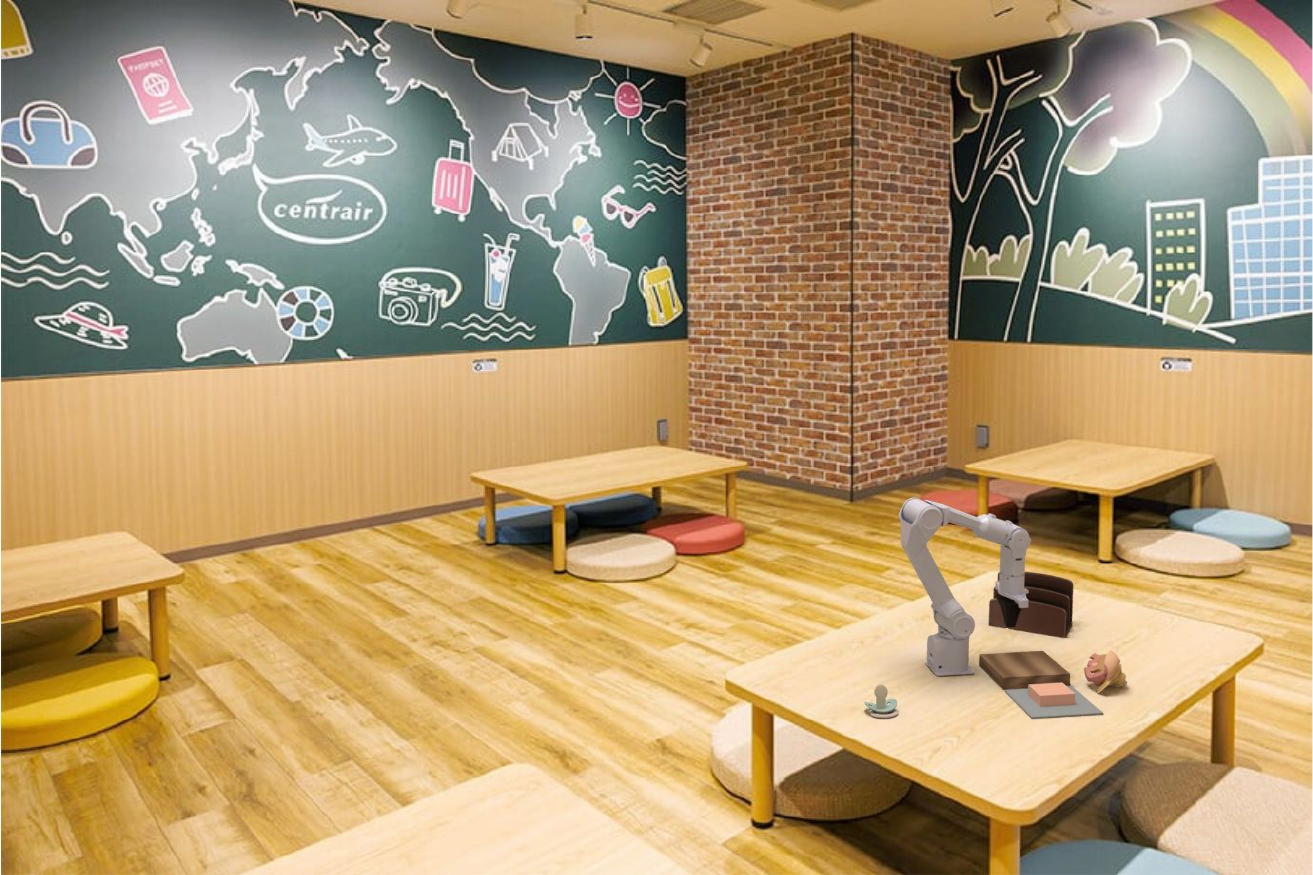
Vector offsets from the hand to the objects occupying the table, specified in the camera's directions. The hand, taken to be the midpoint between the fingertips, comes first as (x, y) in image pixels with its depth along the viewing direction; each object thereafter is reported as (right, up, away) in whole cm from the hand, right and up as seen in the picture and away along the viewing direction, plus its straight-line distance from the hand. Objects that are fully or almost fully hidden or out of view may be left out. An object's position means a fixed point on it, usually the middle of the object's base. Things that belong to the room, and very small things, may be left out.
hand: (1010, 626), depth 239 cm
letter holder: (+15, -5, +25) cm, 29 cm away
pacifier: (-37, -15, -23) cm, 46 cm away
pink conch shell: (+16, -12, -14) cm, 25 cm away
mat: (+2, -13, -21) cm, 25 cm away
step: (+1, -11, -6) cm, 12 cm away
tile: (+2, -10, -21) cm, 23 cm away
